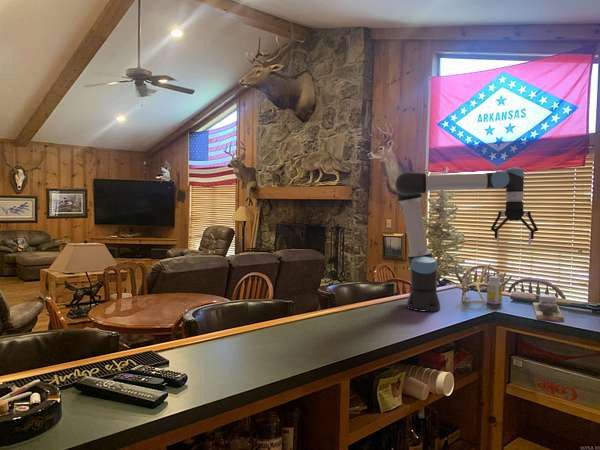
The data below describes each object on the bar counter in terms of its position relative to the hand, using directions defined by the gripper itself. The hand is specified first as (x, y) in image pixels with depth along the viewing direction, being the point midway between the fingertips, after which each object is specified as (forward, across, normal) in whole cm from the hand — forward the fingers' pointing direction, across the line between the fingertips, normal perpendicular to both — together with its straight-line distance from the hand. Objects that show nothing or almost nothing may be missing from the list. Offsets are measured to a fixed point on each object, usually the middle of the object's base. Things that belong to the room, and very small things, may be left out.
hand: (513, 245), depth 214 cm
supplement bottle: (+29, -8, +3) cm, 30 cm away
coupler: (+27, +14, -9) cm, 32 cm away
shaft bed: (+29, +14, -9) cm, 33 cm away
